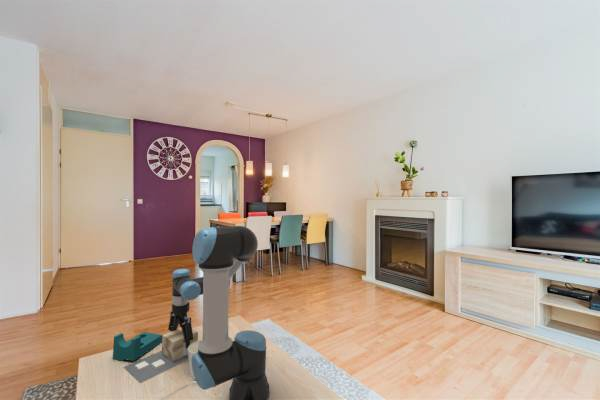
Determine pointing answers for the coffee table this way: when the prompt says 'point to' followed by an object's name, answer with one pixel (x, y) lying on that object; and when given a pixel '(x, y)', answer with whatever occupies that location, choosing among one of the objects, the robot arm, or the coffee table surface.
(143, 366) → the white square tile
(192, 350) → the candle holder
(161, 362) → the cream flat square
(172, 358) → the block
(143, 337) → the teal l-shaped bracket
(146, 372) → the board
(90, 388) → the coffee table surface
